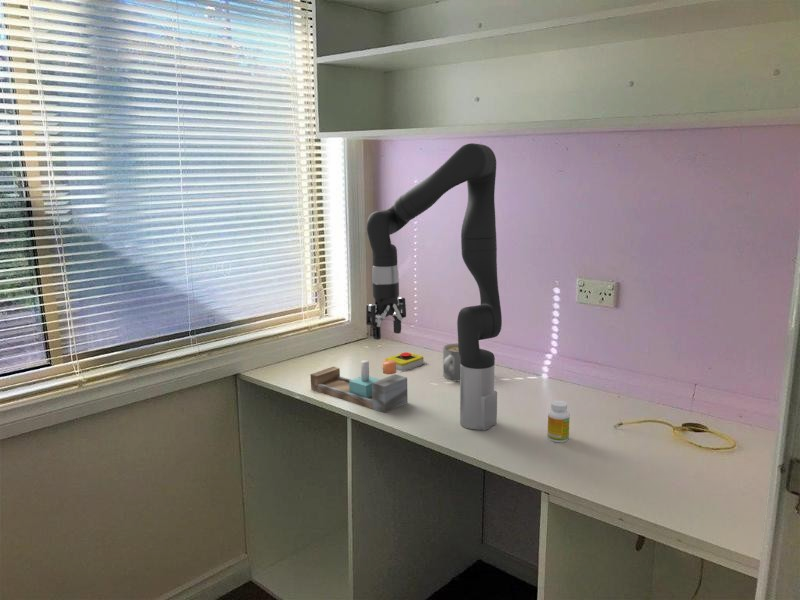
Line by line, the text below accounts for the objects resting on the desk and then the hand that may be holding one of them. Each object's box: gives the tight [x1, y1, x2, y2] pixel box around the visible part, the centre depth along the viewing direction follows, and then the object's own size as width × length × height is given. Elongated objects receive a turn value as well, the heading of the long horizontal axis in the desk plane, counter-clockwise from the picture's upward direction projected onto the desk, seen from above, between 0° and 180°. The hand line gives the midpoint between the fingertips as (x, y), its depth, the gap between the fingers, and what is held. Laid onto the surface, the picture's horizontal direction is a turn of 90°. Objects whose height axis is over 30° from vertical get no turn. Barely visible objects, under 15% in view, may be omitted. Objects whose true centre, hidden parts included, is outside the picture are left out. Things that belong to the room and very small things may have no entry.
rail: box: [309, 366, 409, 414], centre depth 204 cm, size 32×10×8 cm, turn 49°
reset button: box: [382, 360, 397, 375], centre depth 193 cm, size 4×4×3 cm
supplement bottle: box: [547, 400, 571, 443], centre depth 170 cm, size 5×5×10 cm
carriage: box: [349, 359, 382, 398], centre depth 201 cm, size 7×7×10 cm
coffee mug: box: [442, 342, 460, 381], centre depth 219 cm, size 13×10×10 cm
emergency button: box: [380, 351, 427, 373], centre depth 234 cm, size 9×4×15 cm
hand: (387, 336), depth 191 cm, fingers open, 8 cm apart
